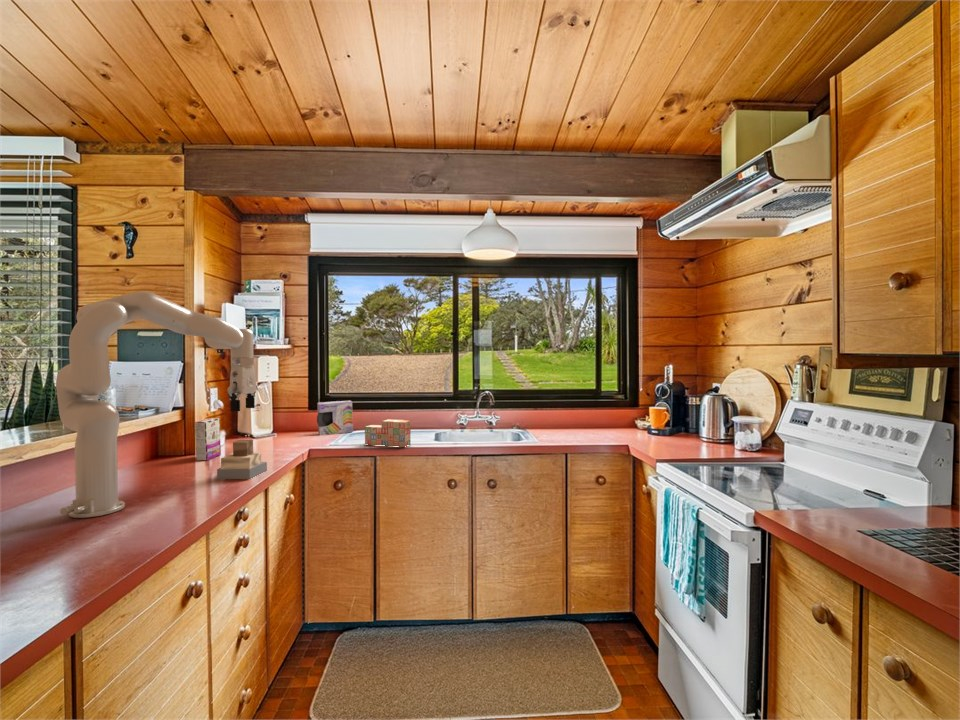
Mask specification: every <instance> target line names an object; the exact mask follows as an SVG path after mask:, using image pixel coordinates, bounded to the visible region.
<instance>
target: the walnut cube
mask: <svg viewBox="0 0 960 720" xmlns="http://www.w3.org/2000/svg"><path fill="white" fill-rule="evenodd" d="M253 452H254V439H238V440H236V441H233V442H232V453H233V456H248V455H250V454H252V453H253Z"/></svg>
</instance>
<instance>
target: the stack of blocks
mask: <svg viewBox="0 0 960 720" xmlns="http://www.w3.org/2000/svg"><path fill="white" fill-rule="evenodd" d="M411 430H412V429H411V420H407V419H406V420H405V419H389V418H388V419H386V420H385V419H384V420H381V425H380V424H370V425H366V426H364V445H365V444H368V445H385V446H399V447H405V446H407V445H410V446H411V433H412V431H411Z"/></svg>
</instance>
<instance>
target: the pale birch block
mask: <svg viewBox="0 0 960 720" xmlns="http://www.w3.org/2000/svg"><path fill="white" fill-rule="evenodd" d="M261 462H262V452H261V451H253V453H252V454H250V455H248V456H233V452H232V453H229V454H227V455H225V456H222V457H220V468H221V469H250V468H252V467H254V466H256V465H257V464H259V463H261Z"/></svg>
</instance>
